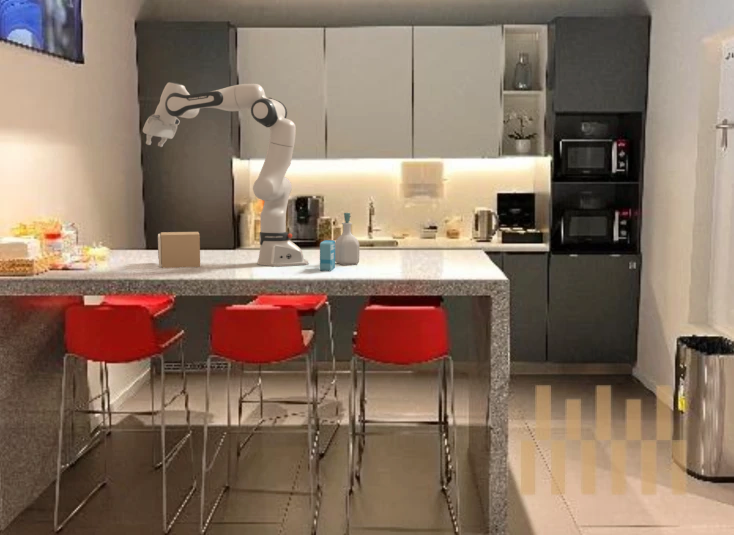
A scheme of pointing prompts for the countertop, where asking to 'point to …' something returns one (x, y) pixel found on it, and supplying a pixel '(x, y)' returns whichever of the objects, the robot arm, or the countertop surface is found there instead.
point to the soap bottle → (347, 245)
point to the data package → (327, 255)
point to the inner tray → (159, 250)
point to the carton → (180, 249)
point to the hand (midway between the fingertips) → (154, 145)
